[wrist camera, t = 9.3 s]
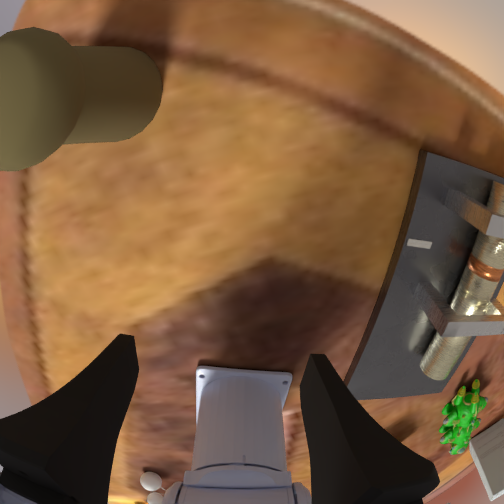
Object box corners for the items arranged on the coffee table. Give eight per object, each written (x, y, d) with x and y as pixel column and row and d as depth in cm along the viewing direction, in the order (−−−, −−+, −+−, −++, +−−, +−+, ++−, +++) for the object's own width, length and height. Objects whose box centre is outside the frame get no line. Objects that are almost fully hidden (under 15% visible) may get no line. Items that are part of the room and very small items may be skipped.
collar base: (437, 385, 28) (457, 425, 23) (338, 392, 27) (350, 443, 22) (527, 187, 18) (574, 213, 13) (420, 149, 18) (473, 170, 12)
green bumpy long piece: (433, 446, 36) (441, 468, 32) (440, 385, 28) (454, 413, 24) (469, 428, 35) (479, 449, 31) (487, 360, 27) (504, 385, 23)
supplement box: (468, 451, 39) (489, 503, 28) (468, 439, 36) (492, 496, 25) (501, 430, 37) (524, 480, 26) (504, 416, 34) (532, 470, 23)
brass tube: (426, 352, 25) (452, 367, 23) (414, 368, 23) (442, 385, 21) (494, 180, 18) (528, 195, 16) (491, 180, 16) (529, 198, 14)
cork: (147, 31, 14) (41, -27, 5) (175, 121, 17) (83, 151, 7) (63, 72, 15) (-70, 76, 5) (89, 156, 18) (-34, 219, 8)
